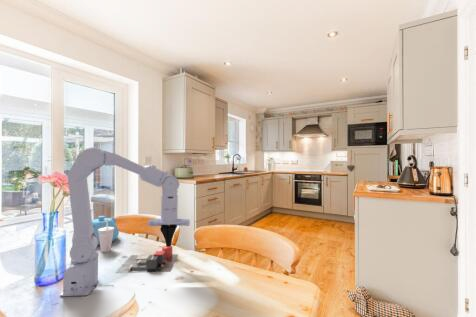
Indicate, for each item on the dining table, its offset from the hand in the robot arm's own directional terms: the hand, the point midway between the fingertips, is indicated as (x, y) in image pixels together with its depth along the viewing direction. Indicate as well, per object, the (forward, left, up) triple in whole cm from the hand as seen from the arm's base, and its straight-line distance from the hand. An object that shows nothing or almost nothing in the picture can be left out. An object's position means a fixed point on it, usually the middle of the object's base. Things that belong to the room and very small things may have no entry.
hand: (168, 245), depth 83 cm
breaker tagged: (+4, +4, -8) cm, 10 cm away
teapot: (+33, +42, -10) cm, 55 cm away
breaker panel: (+5, +8, -9) cm, 14 cm away
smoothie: (+21, +32, -10) cm, 40 cm away
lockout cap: (+10, +3, -8) cm, 13 cm away
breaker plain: (0, +6, -8) cm, 10 cm away
